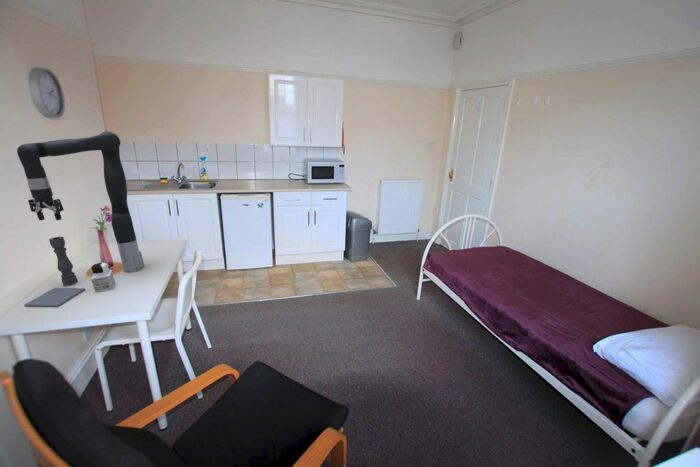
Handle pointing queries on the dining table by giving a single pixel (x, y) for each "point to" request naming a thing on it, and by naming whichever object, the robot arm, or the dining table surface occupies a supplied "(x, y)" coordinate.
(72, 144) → the robot arm
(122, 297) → the dining table surface
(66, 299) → the mat
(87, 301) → the dining table surface
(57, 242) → the candle holder
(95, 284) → the container
